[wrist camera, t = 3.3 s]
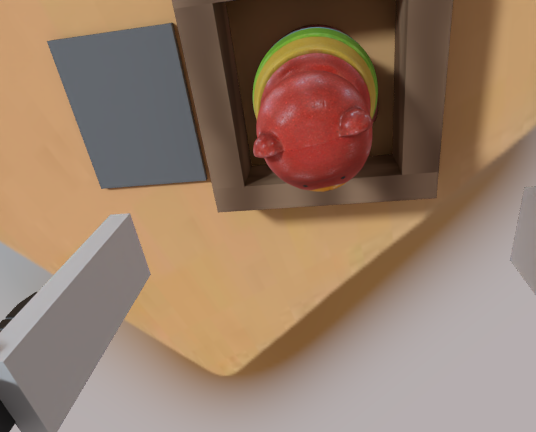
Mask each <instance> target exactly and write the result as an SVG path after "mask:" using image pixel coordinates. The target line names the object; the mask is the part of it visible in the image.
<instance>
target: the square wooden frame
mask: <svg viewBox="0 0 536 432" xmlns="http://www.w3.org/2000/svg"><path fill="white" fill-rule="evenodd" d="M228 1H234V0H172V3H173V8H174V12H175V17H176V22H177V26H178V31H179V35H180V40H181V44H182V49H183V54H184V58H185V63H186V67H187V72H188V77H189V81H190V86H191V90H192V95H193V100H194V104H195V109H196V113H197V118H198V123H199V127H200V132H201V136H202V141H203V145H204V150H205V155H206V159H207V164H208V168H209V173H210V178H211V182H212V187H213V191H214V196H215V201H216V205H217V210H218V212H231V211H246V210H262V209H277V208H292V207H308V206H323V205H338V204H354V203H369V202H384V201H400V200H415V199H430V198H436V196H437V184H438V173H439V161H440V149H441V137H442V125H443V114H444V102H445V90H446V78H447V66H448V55H449V43H450V31H451V19H452V7H453V0H396V20H395V63H394V106H393V149H392V154H390V155H378V156H368V158H367V160H366V162H365V164H364V166H363V167H362V169H361V170H360V171H359V172H358V173H357V174H356V175H355V176H354V177H353V178H352V179H351V180H349V181H348V182H346V183H345V184H344V185H342V186H340V187H338V188H336V189H333V190H330V191H324V192H316V191H309V190H303V189H299V188H297V187H294V186H292V185H290V184H288V183H286V182H284V181H283V180H281V179H280V178H279V177H278V176H277V175H276V174H275V173H274V172H273V171H272V170H271V169H270V167H269V166H268V165H257V166H252V163H251V157H250V150H249V144H248V138H247V132H246V126H245V119H244V113H243V107H242V101H241V94H240V88H239V82H238V76H237V69H236V63H235V57H234V51H233V44H232V38H231V32H230V26H229V19H228V13H227V7H226V2H228Z"/></svg>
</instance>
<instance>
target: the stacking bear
mask: <svg viewBox="0 0 536 432" xmlns="http://www.w3.org/2000/svg"><path fill="white" fill-rule="evenodd" d="M253 108H254V112H255V116H256V120H257V124H256V133H257V139H256V140H255V142H254V147H253V153H254V156H255V157H258V158H264V159H265V161H266V163H267V165H268V166H269V167H270V169H271V170H272V171H273V172H274V173H275V174H276V175H277V176H278V177H279V178H280V179H281V180H283V181H284V182H286V183H288V184H290V185H292V186H294V187H297V188H299V189H303V190H309V191H316V192H324V191H330V190H333V189H336V188H338V187H340V186H342V185H344V184H345V183H346V182H348V181H349V180H351V179H352V178H353V177H354V176H355V175H356V174H357V173H358V172H359V171H360V170H361V169H362V167H363V166H364V164H365V162H366V160H367V158H368V156H369V153H370V150H371V145H372V125H373V122H374V121H375V120H376V118H377V114H378V84H377V77H376V73H375V69H374V66H373V64H372V62H371V60H370V58H369V56H368V55H367V53H366V52H365V51H364V49H363V48H362V47H361V46H360V45H359V44H358V43H357V42H356V41H355V40H353V39H352V38H351V37H349V36H348V35H346V34H345V33H344V32H342V31H340V30H338V29H336V28H334V27H331V26H327V25H308V26H304V27H301V28H298V29H296V30H293V31H292V32H290V33H289V34H287V35H286V36H284V37H283V38H282V39H280V40H279V41H278V42H277V43H276V44H275V45H274V46H273V47H272V48H271V49H270V50H269V51H268V52H267V54H266V55H265V56H264V58H263V60H262V61H261V63H260V65H259V68H258V70H257V73H256V76H255V80H254V85H253Z"/></svg>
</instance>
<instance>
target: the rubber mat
mask: <svg viewBox="0 0 536 432" xmlns="http://www.w3.org/2000/svg"><path fill="white" fill-rule="evenodd" d="M47 43H48V45H49V48H50V51H51V53H52V56H53V59H54V62H55V64H56V67H57V70H58V72H59V75H60V78H61V80H62V83H63V86H64V89H65V91H66V94H67V97H68V99H69V102H70V105H71V108H72V110H73V113H74V116H75V118H76V121H77V124H78V127H79V129H80V132H81V135H82V137H83V140H84V143H85V146H86V148H87V151H88V154H89V156H90V159H91V162H92V165H93V167H94V170H95V173H96V175H97V178H98V181H99V184H100V186H101V189H104V188H116V187H129V186H142V185H154V184H167V183H180V182H193V181H205V180H207V175H206V170H205V166H204V161H203V157H202V152H201V148H200V143H199V139H198V134H197V130H196V125H195V121H194V116H193V112H192V107H191V103H190V98H189V94H188V89H187V85H186V80H185V76H184V71H183V67H182V62H181V58H180V53H179V49H178V44H177V40H176V35H175V31H174V26H173V23H169V24H162V25H155V26H148V27H141V28H134V29H127V30H120V31H114V32H107V33H100V34H93V35H86V36H79V37H72V38H65V39H59V40H52V41H47Z"/></svg>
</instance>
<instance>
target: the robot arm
mask: <svg viewBox="0 0 536 432" xmlns="http://www.w3.org/2000/svg"><path fill="white" fill-rule="evenodd" d="M510 261H511V262H512V263H513V265H514V266H515V267H516V269H517V270H518V271H519V272H520V274H521V276H522V277H523V278H524V280H525V281H526V282H527V284H528V285H529V286H530V288H531V289H532V291H533V292H534V293H535V295H536V186H534V187H525V188H524V193H523V198H522V203H521V208H520V213H519V218H518V223H517V228H516V233H515V238H514V243H513V248H512V253H511V258H510ZM150 275H151V274H150V271H149V268H148V265H147V262H146V259H145V256H144V253H143V250H142V247H141V245H140V242H139V239H138V236H137V233H136V230H135V227H134V224H133V221H132V218H131V215H130V213H128V214H113V215H110V216H109V217H108V218H107V219H106V220H105V221H104V222H103V223H102V224H101V225H100V226H99V227H98V228H97V230H96V231H95V232H94V233H93V234H92V235H91V236H90V237H89V238H88V239H87V240H86V241H85V242H84V243H83V244H82V246H81V247H80V248H79V249H78V250H77V251H76V252H75V253H74V254H73V255H72V256H71V257H70V258H69V259H68V260H67V261H66V263H65V264H64V265H63V266H62V267H61V268H60V269H59V270H58V271H57V272H56V273H55V274H54V275H53V276H52V278H51V279H50V280H49V281H48V282H47V283H46V284H45V285H44V286H43V287H42V288H41V289H40V290H39V291H38V292H35V293H34V294H32V295H31V296H29V297H28V298H26V299H25V300H23V301H22V302H20V303H19V304H18V305H17V306H16V307H15V308H14V309H13V310H12V311H11V312H10V313H9V314H8V315H7V316H6V319H5V320H2V321H1V323H0V432H9V431H10V430H11V428H12V427H13V426H14V424H16V425H17V427H18V428H19V429H20V431H21V432H57V431H58V429H59V428H60V426H61V424H62V423H63V421H64V419H65V418H66V416H67V414H68V413H69V411H70V409H71V407H72V406H73V404H74V402H75V401H76V399H77V397H78V395H79V394H80V392H81V390H82V389H83V387H84V386H85V384H86V382H87V381H88V379H89V377H90V375H91V374H92V372H93V370H94V369H95V367H96V365H97V363H98V362H99V360H100V358H101V357H102V355H103V354H104V352H105V350H106V349H107V347H108V345H109V343H110V342H111V340H112V338H113V337H114V335H115V333H116V331H117V330H118V328H119V327H120V325H121V323H122V322H123V320H124V318H125V317H126V315H127V313H128V312H129V310H130V308H131V306H132V305H133V303H134V301H135V300H136V298H137V296H138V295H139V293H140V291H141V290H142V288H143V286H144V285H145V283H146V281H147V280H148V278H149V276H150Z"/></svg>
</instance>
